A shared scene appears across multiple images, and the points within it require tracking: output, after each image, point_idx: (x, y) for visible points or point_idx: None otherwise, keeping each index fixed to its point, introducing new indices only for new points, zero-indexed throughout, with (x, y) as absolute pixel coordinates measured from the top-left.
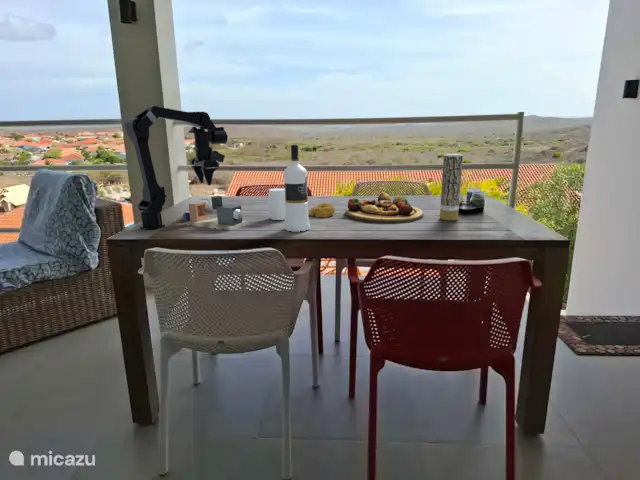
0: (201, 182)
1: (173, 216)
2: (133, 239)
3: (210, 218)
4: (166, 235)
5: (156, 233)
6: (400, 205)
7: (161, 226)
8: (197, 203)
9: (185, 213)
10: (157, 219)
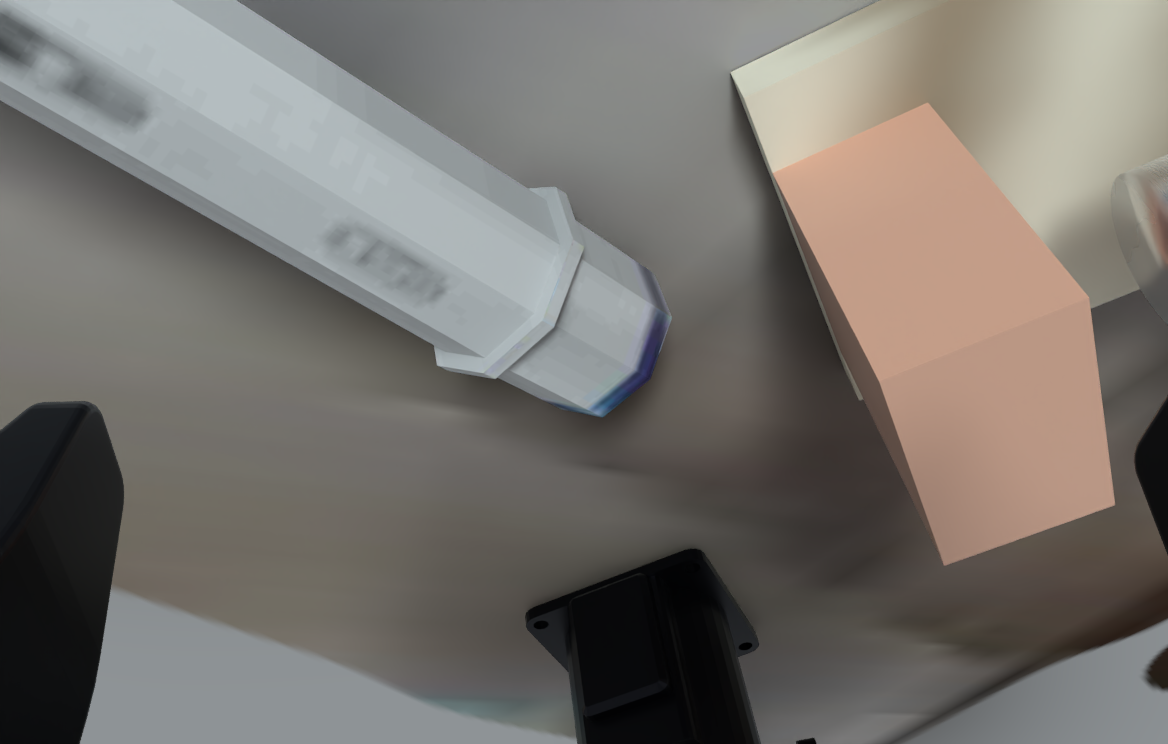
0: (118, 473)
1: (114, 382)
2: (922, 725)
3: (965, 62)
4: (1050, 576)
5: (903, 619)
6: None
7: (719, 579)
8: (1075, 464)
9: (607, 402)
10: (740, 676)
